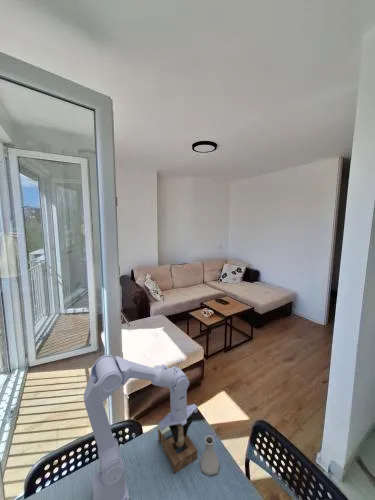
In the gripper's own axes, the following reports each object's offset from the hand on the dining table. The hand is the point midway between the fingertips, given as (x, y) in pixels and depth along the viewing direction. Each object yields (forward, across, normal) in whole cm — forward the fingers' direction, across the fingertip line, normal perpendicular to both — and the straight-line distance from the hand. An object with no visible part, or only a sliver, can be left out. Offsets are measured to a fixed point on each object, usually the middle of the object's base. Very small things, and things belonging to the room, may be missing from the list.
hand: (179, 437), depth 80 cm
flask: (+7, +7, -8) cm, 13 cm away
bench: (+7, 0, +7) cm, 10 cm away
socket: (+7, 0, 0) cm, 7 cm away
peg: (+3, 0, 0) cm, 3 cm away
